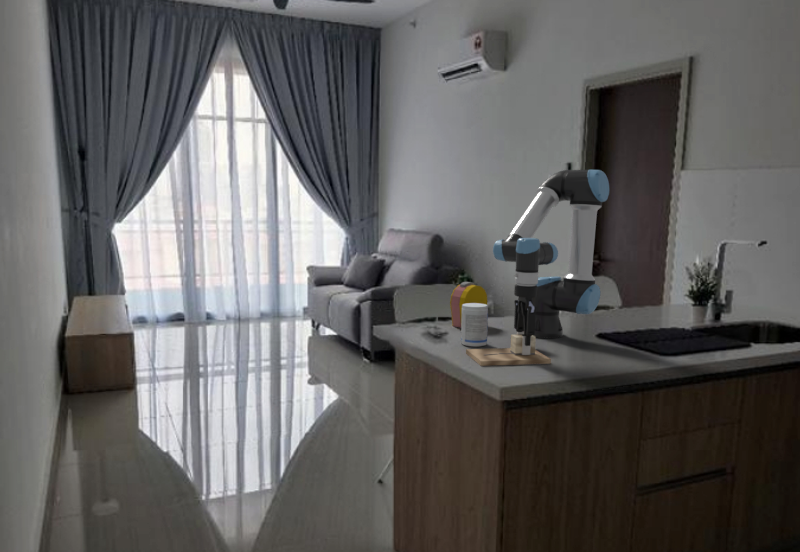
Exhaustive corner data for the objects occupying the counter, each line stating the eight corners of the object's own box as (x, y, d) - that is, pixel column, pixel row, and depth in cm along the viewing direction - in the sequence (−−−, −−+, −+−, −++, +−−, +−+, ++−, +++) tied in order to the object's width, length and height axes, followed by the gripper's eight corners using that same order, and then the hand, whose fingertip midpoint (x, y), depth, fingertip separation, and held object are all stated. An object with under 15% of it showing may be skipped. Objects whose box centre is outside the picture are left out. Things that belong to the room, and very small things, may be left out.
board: (531, 351, 222) (531, 347, 222) (550, 363, 207) (551, 358, 207) (466, 353, 218) (466, 348, 217) (480, 365, 202) (481, 360, 202)
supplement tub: (492, 345, 230) (493, 305, 228) (472, 348, 225) (473, 307, 223) (475, 340, 238) (476, 301, 236) (455, 343, 233) (456, 303, 231)
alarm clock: (471, 321, 273) (473, 279, 271) (486, 325, 267) (488, 282, 265) (448, 326, 263) (449, 282, 261) (463, 329, 257) (464, 284, 255)
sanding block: (529, 351, 216) (530, 334, 215) (534, 354, 212) (535, 337, 211) (510, 351, 215) (511, 334, 214) (515, 355, 210) (515, 337, 210)
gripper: (506, 280, 218) (503, 346, 221) (525, 288, 201) (522, 359, 204) (526, 280, 219) (523, 346, 222) (547, 288, 202) (544, 359, 205)
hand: (522, 352), depth 213 cm, fingers closed on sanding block, 4 cm apart
